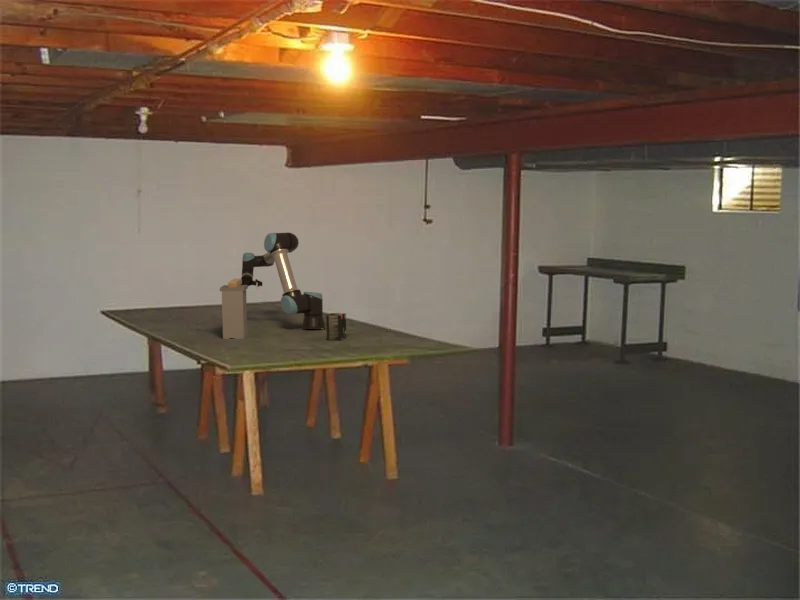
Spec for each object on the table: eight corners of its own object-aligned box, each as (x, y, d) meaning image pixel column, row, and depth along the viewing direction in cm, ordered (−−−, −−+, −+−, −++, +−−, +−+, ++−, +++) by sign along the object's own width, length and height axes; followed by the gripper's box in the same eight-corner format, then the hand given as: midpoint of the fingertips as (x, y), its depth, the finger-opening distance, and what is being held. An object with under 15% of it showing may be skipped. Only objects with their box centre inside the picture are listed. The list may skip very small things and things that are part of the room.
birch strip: (234, 283, 547) (234, 278, 547) (241, 283, 547) (241, 278, 547) (228, 287, 519) (228, 282, 519) (236, 287, 519) (236, 282, 519)
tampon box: (341, 340, 512) (341, 315, 511) (326, 340, 514) (325, 314, 513) (346, 337, 523) (346, 312, 522) (331, 337, 525) (331, 312, 523)
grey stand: (225, 334, 539) (224, 285, 536) (248, 334, 540) (247, 284, 536) (221, 339, 521) (219, 287, 518) (245, 338, 522) (244, 287, 519)
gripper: (266, 285, 588) (266, 292, 568) (227, 285, 585) (225, 293, 565) (266, 273, 587) (265, 280, 566) (227, 274, 583) (225, 281, 563)
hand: (245, 286), depth 565 cm, fingers open, 13 cm apart
